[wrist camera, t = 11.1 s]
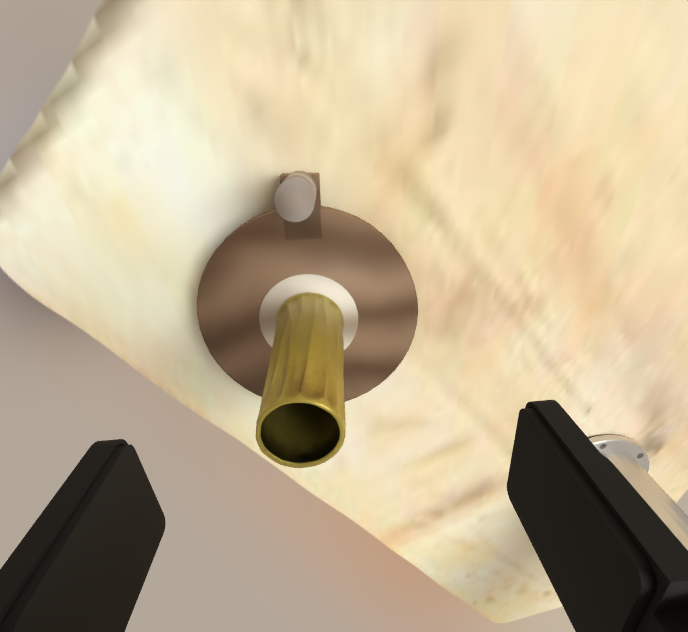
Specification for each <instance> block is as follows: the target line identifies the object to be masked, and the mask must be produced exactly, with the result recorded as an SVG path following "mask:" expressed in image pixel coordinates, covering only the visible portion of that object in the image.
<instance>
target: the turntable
mask: <svg viewBox="0 0 688 632" xmlns="http://www.w3.org/2000/svg"><path fill="white" fill-rule="evenodd" d="M280 184H281V185H280V186H279V187H278V188H277V190H276V192H275V194H274V206H275V210H272V211H268V212H266V213H263V214H261V215H259V216H257V217H254V218H252V219H251V220H249V221H248V222H246V223H244V224H243V225H241V226H240V227H239V228H237V229H236V230H235V231H234V232H233V233H232V234H230V235H229V236H228V237H227V238H226V239H225V241H224V242H223V243H222V244H221V245H220V246H219V247H218V249H217V250H216V251H215V252H214V254H213V255H212V257H211V259H210V260H209V262H208V263H207V266H206V268H205V270H204V272H203V275H202V278H201V282H200V285H199V289H198V298H197V314H198V321H199V326H200V330H201V333H202V336H203V339H204V341H205V343H206V345H207V347H208V349H209V351H210V353H211V355H212V356H213V357H214V359H215V360H216V362H217V363H218V364H219V366H220V367H221V368H222V369H223V370H224V371H225V372H226V373H227V374H228V375H229V376H230V377H231V378H232V379H233V380H235V381H236V382H237V383H239V384H240V385H241V386H243V387H244V388H246V389H247V390H249V391H251V392H253V393H255V394H257V395H259V396H261V397H262V396H263V392H264V387H265V382H266V377H267V372H268V367H269V362H270V357H271V351H272V346H273V342H274V336H275V330H276V325H277V314H278V312H279V310H280V308H281V306H282V305H283V304H284V303H285V302H286V301H287V300H288V299H290V298H291V297H293V296H295V295H298V294H301V293H309V292H310V293H318V294H322V295H324V296H326V297H328V298H330V299H331V300H333V301H334V302H335V303H336V304H337V305H338V306H339V308H340V310H341V312H342V314H343V318H344V329H343V340H344V364H343V379H344V402H345V401H348V400H351V399H354V398H356V397H358V396H360V395H362V394H364V393H367V392H368V391H370V390H371V389H373V388H375V387H376V386H378V385H379V384H380V383H381V382H383V381H384V380H385V379H386V378H387V377H388V376H389V375H390V374H391V373H392V372H393V371H394V370H395V369H396V368H397V367H398V365H399V364H400V363H401V361H402V360H403V358H404V357H405V355H406V353H407V351H408V350H409V347H410V345H411V342H412V340H413V337H414V334H415V330H416V325H417V316H418V303H417V295H416V290H415V285H414V283H413V280H412V277H411V274H410V272H409V270H408V268H407V266H406V264H405V262H404V260H403V259H402V257H401V255H400V254H399V253H398V251H397V250H396V249H395V247H394V246H393V244H392V243H391V242H390V241H389V240H388V239H387V238H386V237H385V236H384V235H383V234H382V233H381V232H379V231H378V230H377V229H376V228H374V227H373V226H372V225H370V224H369V223H367V222H365V221H363V220H362V219H360V218H358V217H356V216H354V215H351V214H349V213H346V212H344V211H340V210H337V209H333V208H329V207H322V206H321V200H320V179H319V173H306V172H303V171H296V172H293V173H291V174H281V175H280Z"/></svg>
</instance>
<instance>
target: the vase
mask: <svg viewBox="0 0 688 632" xmlns="http://www.w3.org/2000/svg"><path fill="white" fill-rule="evenodd" d="M343 329H344V318H343V314H342V312H341V310H340V308H339V306H338V305H337V304H336V303H335V302H334V301H333V300H331V299H330V298H328V297H326V296H324V295H322V294H318V293H310V292H309V293H301V294H298V295H295V296H293V297H291V298H290V299H288V300H287V301H286V302H285V303H284V304H283V305H282V306H281V308H280V310H279V312H278V314H277V325H276V330H275V336H274V342H273V346H272V351H271V357H270V362H269V367H268V372H267V377H266V382H265V387H264V392H263V396H262V402H261V407H260V411H259V416H258V419H257V426H256V440H257V443H258V445H259V447H260V449H261V451H262V452H263V453H264V454H265V455H266V456H267V457H269V458H270V459H272V460H273V461H275V462H276V463H278V464H281V465H284V466H288V467H294V468H305V467H311V466H316V465H319V464H321V463H324V462H326V461H327V460H329V459H330V458H332V457H333V456H334V455H335V454H336V453H337V452H338V451H339V450H340V448H341V447H342V445H343V442H344V438H345V403H344V379H343V364H344V340H343Z"/></svg>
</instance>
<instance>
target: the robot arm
mask: <svg viewBox="0 0 688 632" xmlns="http://www.w3.org/2000/svg"><path fill="white" fill-rule="evenodd" d="M648 470H649V458H648V455H647V453H646V452H645V450H644V449H643V448H642V447H641V446H640V445H639V444H638V443H637V442H635V441H634V440H632V439H630V438H627V437H625V436H619V435H602V436H595V437H591V438H588V437H587V436H586V435H585V434H584V433H583V432H582V430H581V429H580V428H579V427H578V426H577V425H576V423H575V422H574V421H573V420H572V419H571V417H570V416H569V415H568V414H567V413H566V412H565V410H564V409H563V408H562V407H561V406H560V405H559V403H557V402H556V401H555V400H545V401H534V402H528V403H527V404H526V407H525V409H521V410H520V412H519V417H518V423H517V429H516V434H515V440H514V446H513V452H512V458H511V464H510V470H509V476H508V482H507V491H508V495H509V498H510V501H511V503H512V505H513V507H514V509H515V511H516V513H517V515H518V517H519V519H520V521H521V523H522V525H523V527H524V529H525V531H526V533H527V535H528V537H529V539H530V541H531V543H532V545H533V547H534V549H535V551H536V553H537V555H538V557H539V559H540V561H541V563H542V565H543V567H544V569H545V571H546V573H547V575H548V577H549V579H550V581H551V583H552V585H553V587H554V589H555V591H556V593H557V595H558V597H559V599H560V601H561V603H562V605H563V607H564V609H565V611H566V613H567V615H568V617H569V619H570V621H571V623H572V625H573V627H574V629H575V631H576V632H688V516H687V515H686V514H685V513H684V511H683V510H681V508H680V507H679V506H678V505H677V504H676V503H675V502H674V501H673V500H672V499H671V498H670V497H669V495H668V494H667V493H666V492H665V491H664V490H663V489H662V488H661V487H660V486H659V485H658V484H657V483H656V482H655V481H654V479H653V478H652V477H651V476H650V475H649V474H648ZM164 529H165V517H164V514H163V512H162V509H161V507H160V505H159V503H158V500H157V498H156V496H155V494H154V491H153V489H152V487H151V484H150V482H149V480H148V478H147V475H146V473H145V471H144V469H143V466H142V464H141V462H140V460H139V457H138V455H137V453H136V451H135V449H134V447H133V446H132V445H128V444H127V442H126V441H125V440H123V439H118V440H107V441H97V442H95V443H94V444H93V445H92V446H91V447H90V448H89V450H88V451H87V452H86V454H85V455H84V456H83V458H82V459H81V460H80V462H79V463H78V465H77V466H76V467H75V469H74V470H73V471H72V473H71V474H70V475H69V477H68V478H67V480H66V481H65V482H64V484H63V485H62V486H61V488H60V489H59V490H58V492H57V493H56V494H55V496H54V497H53V499H52V500H51V501H50V503H49V504H48V505H47V507H46V508H45V509H44V511H43V512H42V514H41V515H40V516H39V518H38V519H37V520H36V522H35V523H34V525H33V526H32V527H31V529H30V530H29V531H28V533H27V534H26V535H25V537H24V538H23V539H22V541H21V542H20V544H19V545H18V546H17V548H16V549H15V550H14V552H13V553H12V554H11V556H10V557H9V558H8V560H7V561H6V563H5V564H4V565H3V567H2V568H1V569H0V632H125V629H126V626H127V624H128V621H129V619H130V616H131V614H132V611H133V609H134V606H135V604H136V601H137V599H138V596H139V594H140V591H141V589H142V586H143V584H144V581H145V579H146V576H147V574H148V571H149V568H150V566H151V563H152V561H153V558H154V556H155V553H156V551H157V548H158V546H159V543H160V541H161V538H162V536H163V533H164Z"/></svg>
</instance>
